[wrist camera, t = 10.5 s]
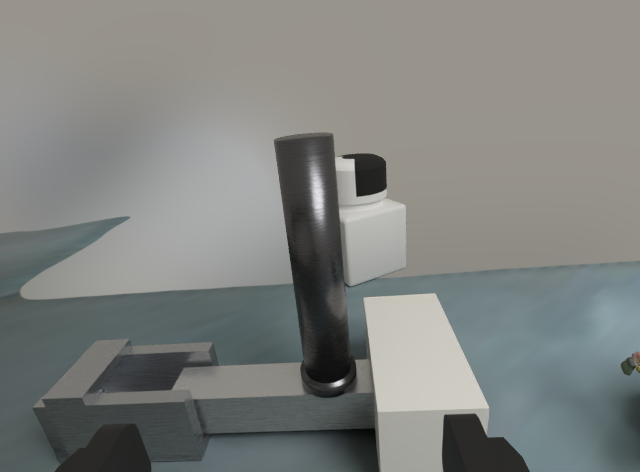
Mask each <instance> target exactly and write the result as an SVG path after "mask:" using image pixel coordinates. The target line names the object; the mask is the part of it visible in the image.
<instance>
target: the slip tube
mask: <svg viewBox="0 0 640 472" xmlns="http://www.w3.org/2000/svg"><path fill="white" fill-rule="evenodd" d="M274 144H275V151H276V159H277V166H278V174H279V181H280V188H281V196H282V202H283V210H284V217H285V224H286V232H287V239H288V246H289V254H290V261H291V269H292V276H293V284H294V291H295V299H296V306H297V313H298V321H299V328H300V335H301V343H302V350H303V357H304V360H303V362H297V363H275V364H253V365H231V366H209V367H187V368H183V370H182V372H181V374H180V375H179V377H178V379H177V381H176V383H175V385H174V386H173V388H172V390H190V391H191V394H192V398H193V401H194V405H195V408H196V412H197V415H198V419H199V422H200V426H201V429H202V433H203V434H206V433H238V432H270V431H301V430H333V429H365V428H375V413H374V394H373V384H372V375H371V367H370V359H363V360H355V359H354V358H353V357H352V355H350V344H349V331H348V318H347V305H346V293H345V280H344V267H343V254H342V241H341V229H340V216H339V203H338V190H337V177H336V165H335V152H334V139H333V134H332V133H307V134H297V135H291V136H285V137H280V138H277V139H275V140H274Z"/></svg>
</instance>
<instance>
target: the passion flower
mask: <svg viewBox="0 0 640 472" xmlns="http://www.w3.org/2000/svg"><path fill="white" fill-rule="evenodd" d="M639 366H640V353H639V352H636V353H635V354H634V353H633V354H632V357H630V358H627V359H626V361H624V362H622V363H621V368H622V370H623V372H624V374H626V375H631V373H632V371H633V370H634V368H635V367H636V369H637V371H638V372H639V373H640V367H639Z"/></svg>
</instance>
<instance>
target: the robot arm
mask: <svg viewBox="0 0 640 472" xmlns="http://www.w3.org/2000/svg"><path fill="white" fill-rule="evenodd" d="M442 466H443V472H530V471H529V469H528V467H527V465H526V463H525V461H524V459H523V457H522V456H521V455H520V454H519V453H518V452H517V451H516V450H515V449H514V448H513V447H512V446H511V445H510V444H509V443H508V442H507V441H506V440H505V439H504V437H495V438H487V435H486V433H485V431H484V428H483V426H482V424H481V421H480V419H479V417H478V416H477V415H476V414H475V413H472V414H445V415H444V419H443V440H442ZM55 472H151V462H150V459H149V457H148V454H147V451H146V448H145V446H144V443H143V440H142V438H141V435H140V432H139V430H138V427H137V426H136V425H135V424H133V423H131V424H106V425H103V426H101V427H100V428H99V429H98V430H97V432H96V433H95V434H94V436H93V437H92V439H91V440H90V442H89V443H88V445H87V446H86V447H85V448H79V449H78V450H77V451H76V452H74V453H73V454H72V455H71V456H70V457H69V458H68V459H67V460H66V461H64V462H63V463H62V464H61V465H60V466H59V467H58V468H57V469H56V471H55Z"/></svg>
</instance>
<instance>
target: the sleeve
mask: <svg viewBox="0 0 640 472" xmlns="http://www.w3.org/2000/svg"><path fill="white" fill-rule="evenodd" d="M209 366H219V364H218V360H217V356H216V352H215V348H214V344H213V342H203V343H183V344H164V345H144V346H132V344H131V341H130V339H120V340H101V341H96V342H95V343H94V344H93V345H92V346H91V347H90V348H88V349H87V350H86V351H85V353H84V354H83V355H82V356H81V358H80V359H79V360H78V361H77V362H76V363H75V364H74V365H73V366H72V367H71V368H70V369H69V370H68V371H67V372H66V374H65V375H64V376H63V377H62V378H61V379H60V380H59V381H58V382H57V383H56V384H55V385H54V386H53V387H52V388H51V389H50V390H49V392H48V393H47V394H46V395H44V396H43V397H42V398H41V399H40V400H39V401H38V402H37V403H36V404H35V405H34V406H33V407H32V408H33V410H34V412H35V414H36V416H37V418H38V420H39V422H40V424H41V426H42V428H43V430H44V432H45V434H46V436H47V438H48V440H49V442H50V444H51V446H52V448H53V450H54V452H55V454H56V456H57V458H58V460H59V462H60V464H62V463H63V462H64V461H66V460H67V459H68V458H69V457H70V456H71V455H72V454H73V453H74V452H76V451H77V450H78V449H79V448H85V447H86V446H87V445H88V443H89V442H90V440H91V439H92V437H93V436H94V434H95V433H96V432H97V430H98V429H99V428H100V427H101V426H103V425H106V424H131V423H133V424H135V425H136V426H137V427H138V430H139V432H140V435H141V438H142V440H143V443H144V446H145V448H146V451H147V454H148V457H149V459H150V462H162V461H201V460H202V458H203V456H204V453H205V450H206V447H207V445H208V442H209V439H210V436H211V434H212V433H206V434H203V433H202V429H201V426H200V422H199V419H198V415H197V412H196V408H195V405H194V401H193V398H192V394H191V391H190V390H172V388H173V386H174V385H175V383H176V381H177V379H178V377H179V375H180V374H181V372H182V370H183V368H187V367H209Z"/></svg>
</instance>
